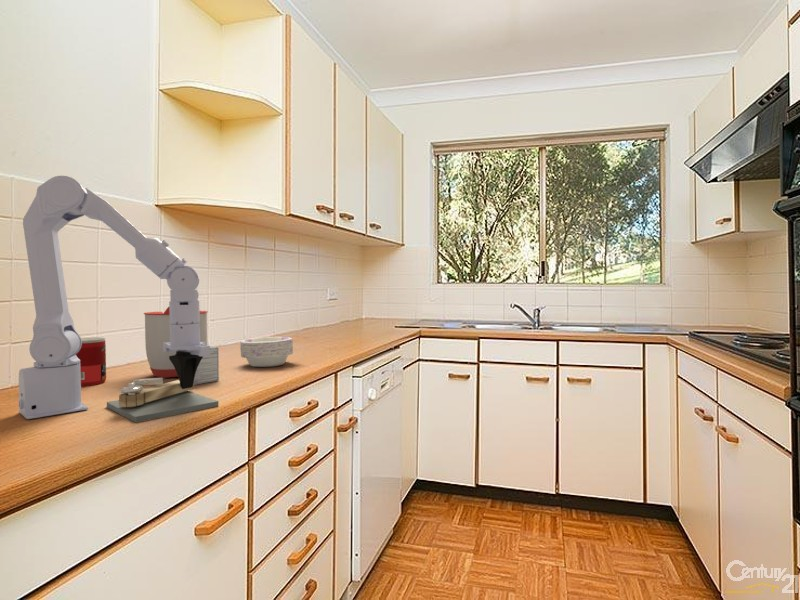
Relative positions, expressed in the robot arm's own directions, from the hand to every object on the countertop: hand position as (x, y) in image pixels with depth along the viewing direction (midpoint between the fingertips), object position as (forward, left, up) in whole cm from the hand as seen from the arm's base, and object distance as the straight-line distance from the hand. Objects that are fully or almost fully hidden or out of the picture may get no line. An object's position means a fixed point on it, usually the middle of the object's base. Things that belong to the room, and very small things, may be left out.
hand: (187, 387), depth 99 cm
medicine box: (+10, +15, -3) cm, 18 cm away
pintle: (-11, -3, -2) cm, 12 cm away
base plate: (-6, -3, -2) cm, 7 cm away
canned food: (-9, +35, -3) cm, 37 cm away
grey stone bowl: (+35, +26, -3) cm, 43 cm away
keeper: (-7, +2, -2) cm, 8 cm away
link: (-6, 0, -1) cm, 6 cm away
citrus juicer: (+11, +31, -3) cm, 33 cm away
